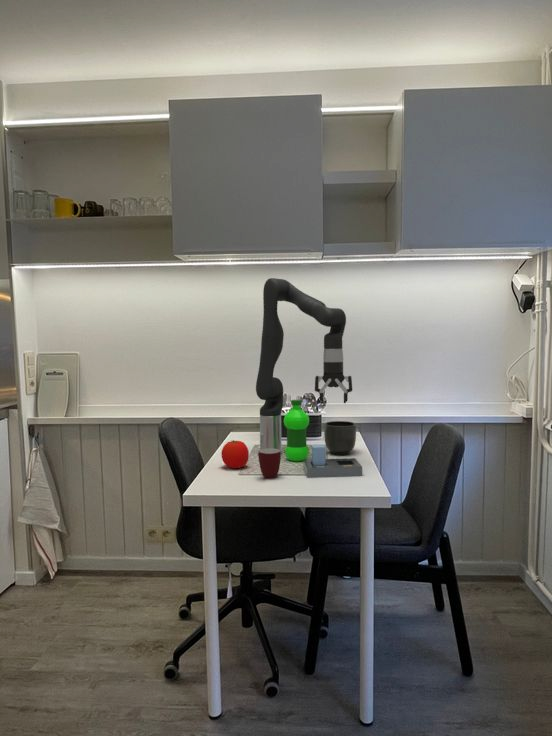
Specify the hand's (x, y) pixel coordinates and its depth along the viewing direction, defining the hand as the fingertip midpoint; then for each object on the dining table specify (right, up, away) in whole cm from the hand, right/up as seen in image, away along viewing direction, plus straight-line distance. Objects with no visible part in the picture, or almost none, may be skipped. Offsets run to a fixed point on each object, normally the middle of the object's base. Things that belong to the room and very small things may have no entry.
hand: (333, 402), depth 191 cm
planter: (+6, -24, +25) cm, 35 cm away
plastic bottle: (-14, -25, +13) cm, 31 cm away
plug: (-6, -25, -7) cm, 27 cm away
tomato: (-38, -26, +4) cm, 46 cm away
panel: (-1, -26, -6) cm, 27 cm away
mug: (-24, -27, -10) cm, 37 cm away
